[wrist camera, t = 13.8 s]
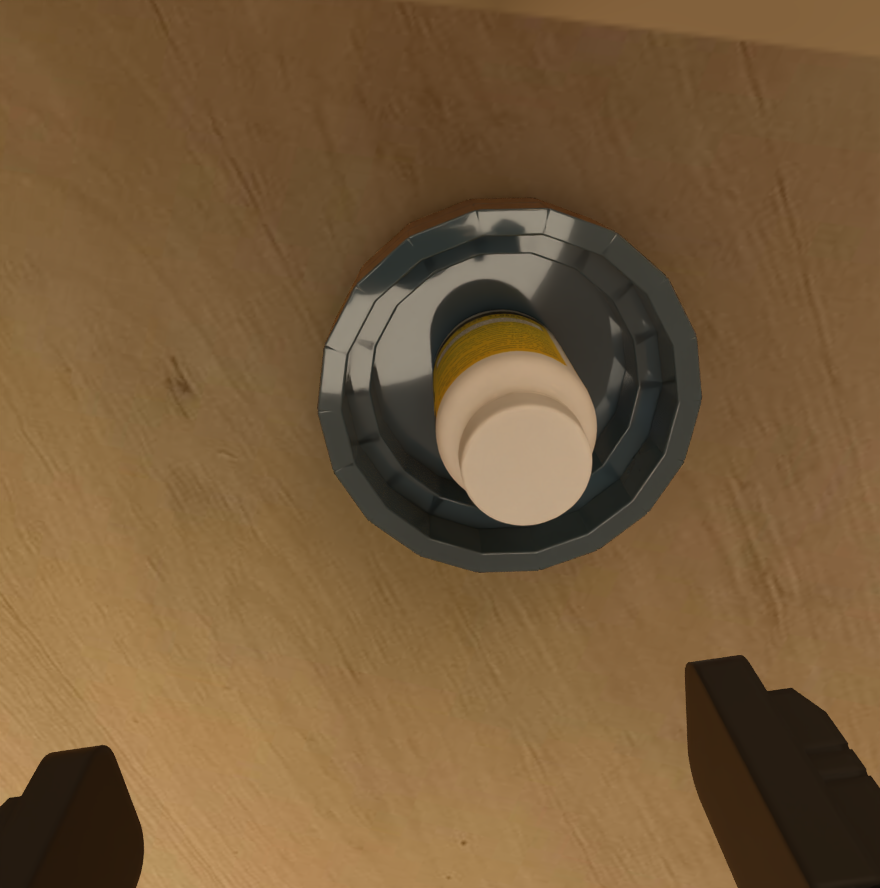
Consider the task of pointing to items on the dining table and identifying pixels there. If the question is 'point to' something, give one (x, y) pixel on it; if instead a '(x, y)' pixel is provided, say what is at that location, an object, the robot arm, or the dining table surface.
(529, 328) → the supplement bottle
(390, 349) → the bowl
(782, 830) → the robot arm
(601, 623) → the dining table surface
